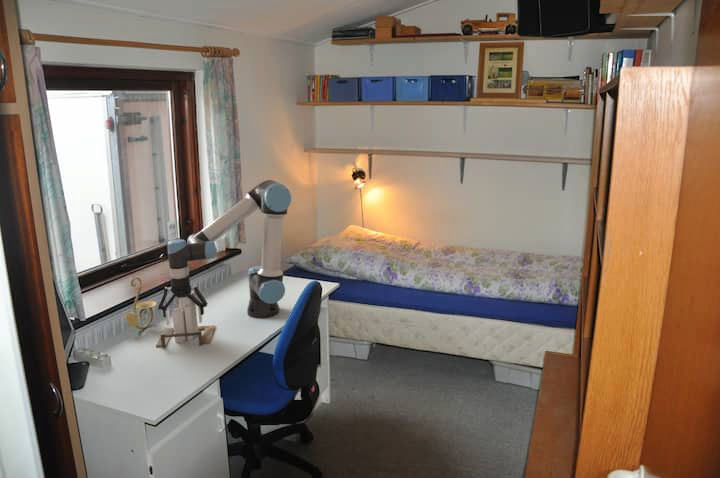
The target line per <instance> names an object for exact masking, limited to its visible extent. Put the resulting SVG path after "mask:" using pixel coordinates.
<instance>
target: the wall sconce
mask: <svg viewBox="0 0 720 478" xmlns="http://www.w3.org/2000/svg"><path fill="white" fill-rule="evenodd" d="M135 280H138V282H139V286H138V290H137V293H136V295H135V299H134V303H133V310H132V312H128V313H126V315H125V322H126V323H127V325H128V326H129V327H132V328H135V327H136V329H139V330H143V329H146V328H148V327H149V326H150V325H151V323H152V321H153V318H154V312H153V311H154V310H153V309H152V308H153V307H155V306H156V305H157V301H156V302H155V301H154V300H144V301H140V302H138V301H139V298H140V293H141V290H142V287H143V286H142V285H143V282H142V280H141V278H140V277H138V276H135V277H133V278H132V279H131V281H130V286H131V287H133V288H134V287H136V285H137V283H134V281H135ZM148 309H149V311H150V318H149V321H148V323H147V324H145V325H144V326H139V323H140V321H139V318H140V320H143V319H145V318H146V316H145V315H147V314H148ZM136 310H140V311H139V313H138V315H139V317H138V316H137V314H136ZM142 313H144V315H143V316H142Z"/></svg>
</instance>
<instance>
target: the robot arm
mask: <svg viewBox="0 0 720 478" xmlns="http://www.w3.org/2000/svg"><path fill="white" fill-rule="evenodd" d="M291 203H292V194H291V192H290V190H289V189H288V188H287V187H286V186H285V185H284V184H282V183H279V182H277V181H275V180H272V179H267V180H264V181H262V182H260V183H258V184H257V185H256V186H254V187H253V188H252V189H251V190H249V191H248V192H247V193H246V196H245V197H244V198H243V199H241V200H240V201H239V202H237V203H236V204H234V205H233V206H232V207H230V208H229V209H227V211H225V212H223V214H221V215H220V216H218V217H217V218H216V219H215V220H214V221H212V222H211V223H209V224H208V225H207V226H205V227H204V228H203V229H201V230H200V231H198V232H197V233H193V234H190V235H189V236H188V238H187V241H186V240H184V239H178V238H177V239H172V240H170V241H168V242H167V245H166V246H167V257H168V258H167V259H168V265H169V275H170V285H171V287H169V286H165V287H164V289H163V295H162V297H161V300H160V302H159V305H158V307H157V309H158V310H160V311H161V310H162V313H163V315H162V316H163V318H166V319H165V320H166V325H167V326H169V325H170V324H171V317H170V311H169V310H170V309H169V308H168V307H169V306H170V305H171V304H172V302H173V301H174V300H175V298H178V299H179V298H180V297H183V298H184V297H186V296H187V297H188V298H190V299H191V300H192V301H193V302H194V303H195V304H196V306H197V307H198V309H197V310H198V311H197V312H198V322H199V324H202V322H203V316H204V313H205V308H206V307H207V306H208V301H207V300H206V299H205V297H204V295H203V294H202V293H201V290H199V289H200V288H199V285H197V284H196V285H194V286H192V285H191V280H190V272H189V262H196V261H197V262H198V261H205V260H211V259H215V258H216V257H217V246H216V244H215V243H216V241H217V240H218V239H220V238H222V237H223V236H224V235H225V234H227V233H228V232H229V231H230V230H232V229H233V228H234V227H236V226H237V225H238V224H240V223H241V222H243V221H244V220H245V219H247V218H248V217H249V216H251V215H252V214H254V213H255V212H257V211H260V214H261V215H262V216H263V227H262V241H261V242H262V244H261V245H262V246H261V260H260V262H261V263H260V265H256V266H251V267H249V268H248V273H247V275H248V286H249V301H248V304H247V307H246V308H247V309H246V310H247V315H248V316H249V317H252V318H255V319H256V318H257V319H264V318H265V319H266V318H270V317H273V316H275V315H278V313H280V306H279V303H278V302H280V301H281V300H282V299H283V297H284V296H285V293H286V287H285V284H284V282H283V280H284V272H283V271H282V270H281V261H282V260H281V259H282V243H283V231H284V230H283V229H284V218H285V217H286V216H287V215H288V208H289V207H290V206H291ZM191 290H193V291H194V293H195V296H194V295H191V294H190V293H191V292H190V291H191ZM170 292H171V293H172V296H171V297H170V298H169V299H168V301H167V302H166V303H165V301H166V298H167V296H168V294H169V293H170ZM189 294H190V295H189ZM196 296H197V297H196ZM164 303H165V305H164Z"/></svg>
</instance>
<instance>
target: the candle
mask: <svg viewBox="0 0 720 478" xmlns="http://www.w3.org/2000/svg"><path fill="white" fill-rule="evenodd" d="M190 292H191V293H190V294H191V295H194V296H195V297H196V293H195V292H194V291H193V290H191V291H190ZM190 294H189V295H190ZM178 301H179V303H178V304H179V307H175V308H173V309H172V310H171V312H172V313H171V314H172V315H171V316H172V323H173V328H174V332H173V334H181V333H197V332H198V326H199V325H198V316H197V307H196V306H197V305H196V304H195V303H194V302H193V301H192V300H191V299H190V298H188V297H187V296H186V297H184V298H183V297H180V298H178ZM196 337H198V335H195V336H180V337H174V342H175V343H176V344H177V343H183V342H185V341H189V342H190V341H193V340H194V338H196Z"/></svg>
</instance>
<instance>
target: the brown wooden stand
mask: <svg viewBox="0 0 720 478" xmlns="http://www.w3.org/2000/svg"><path fill="white" fill-rule="evenodd" d="M215 330H216V325H198V332H197V333H181V334H174V327H168V328H164V329H163V332H162V333H161V334H160V337H159V339H158V340H157V342H156V344H155V347H156V348H161V349H166V347H167V346H168V343H169V341H170V339H171V338H175V337H180V336H195V335H198V336H197V337H198V346H199V347H201V346H202V347H203V345H210V343H211V341H212V337H213V335H214V331H215ZM202 331H203V333H202Z"/></svg>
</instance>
